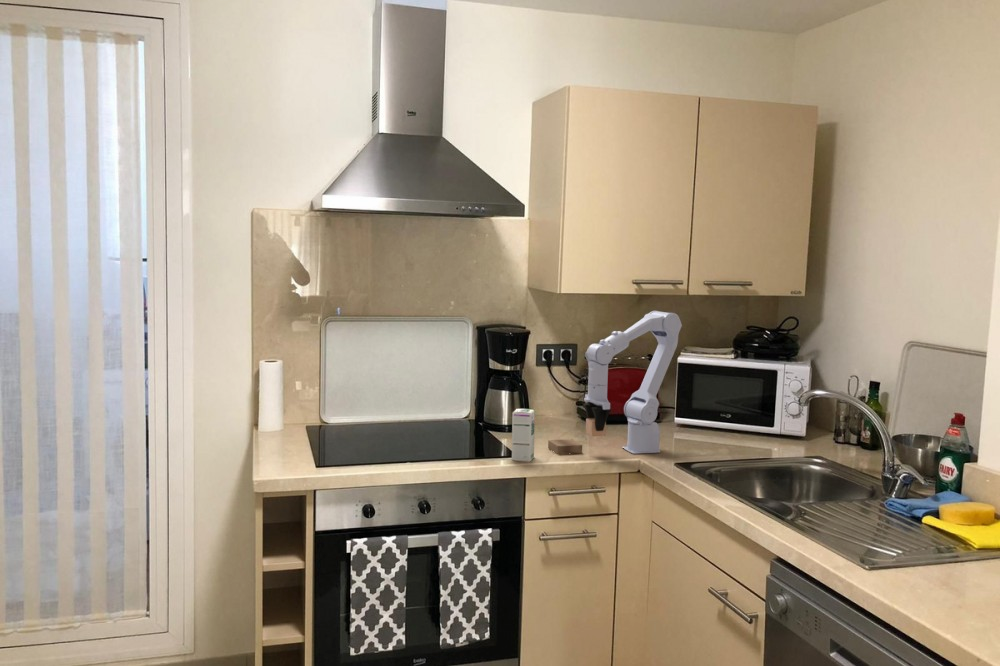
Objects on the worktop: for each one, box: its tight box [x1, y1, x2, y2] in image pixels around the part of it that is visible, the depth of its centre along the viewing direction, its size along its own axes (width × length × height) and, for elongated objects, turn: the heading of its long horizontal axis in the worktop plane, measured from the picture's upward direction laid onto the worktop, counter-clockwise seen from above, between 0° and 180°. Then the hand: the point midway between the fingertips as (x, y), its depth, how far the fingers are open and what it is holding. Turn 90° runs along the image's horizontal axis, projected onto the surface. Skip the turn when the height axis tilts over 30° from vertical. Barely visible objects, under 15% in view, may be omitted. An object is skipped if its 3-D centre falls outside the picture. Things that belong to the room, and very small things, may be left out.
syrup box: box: [511, 408, 535, 463], centre depth 244 cm, size 6×6×14 cm
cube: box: [585, 417, 607, 437], centre depth 251 cm, size 4×4×4 cm
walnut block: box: [547, 438, 583, 455], centre depth 256 cm, size 8×8×3 cm
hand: (596, 428), depth 251 cm, fingers closed on cube, 4 cm apart
